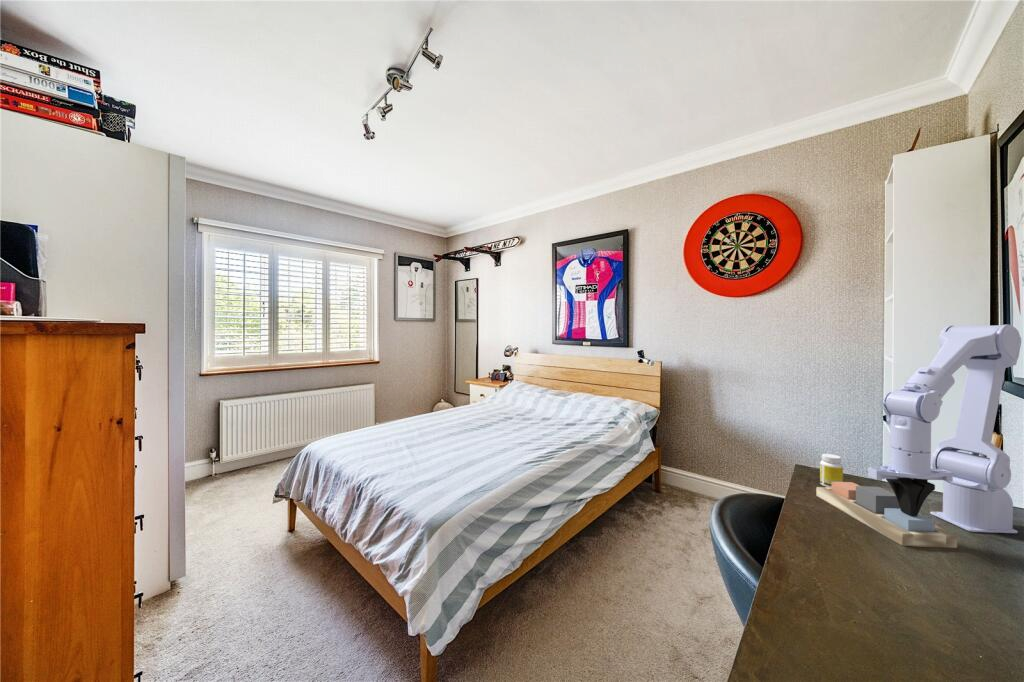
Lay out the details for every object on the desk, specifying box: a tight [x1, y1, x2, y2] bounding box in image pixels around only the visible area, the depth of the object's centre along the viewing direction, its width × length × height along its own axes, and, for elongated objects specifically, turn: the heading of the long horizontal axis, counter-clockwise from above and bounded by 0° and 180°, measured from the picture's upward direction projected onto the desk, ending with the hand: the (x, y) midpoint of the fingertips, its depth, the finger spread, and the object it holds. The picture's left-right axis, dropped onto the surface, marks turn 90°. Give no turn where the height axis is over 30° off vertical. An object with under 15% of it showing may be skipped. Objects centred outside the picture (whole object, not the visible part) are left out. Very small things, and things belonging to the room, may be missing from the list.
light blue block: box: [884, 508, 936, 532], centre depth 75 cm, size 5×5×4 cm
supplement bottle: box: [819, 453, 844, 487], centre depth 99 cm, size 5×5×8 cm
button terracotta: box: [831, 481, 860, 500], centre depth 89 cm, size 5×5×4 cm
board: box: [815, 486, 958, 549], centre depth 82 cm, size 10×22×2 cm, turn 176°
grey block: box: [856, 485, 900, 514], centre depth 82 cm, size 5×5×4 cm
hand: (909, 513), depth 75 cm, fingers closed
